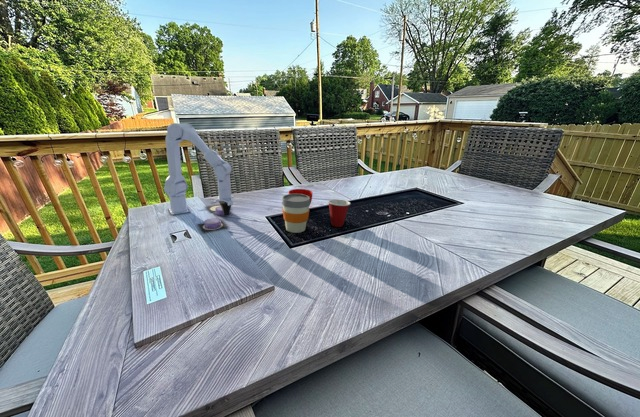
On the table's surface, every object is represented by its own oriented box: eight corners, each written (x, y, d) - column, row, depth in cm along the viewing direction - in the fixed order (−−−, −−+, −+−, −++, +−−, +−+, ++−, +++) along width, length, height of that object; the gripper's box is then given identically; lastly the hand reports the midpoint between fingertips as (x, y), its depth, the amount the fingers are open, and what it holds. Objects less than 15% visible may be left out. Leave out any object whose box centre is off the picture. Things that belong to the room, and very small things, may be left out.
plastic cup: (351, 223, 130) (353, 200, 126) (344, 230, 120) (346, 206, 116) (331, 218, 134) (332, 196, 130) (322, 226, 124) (324, 202, 120)
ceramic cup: (280, 213, 138) (280, 195, 134) (295, 204, 153) (295, 187, 149) (302, 217, 133) (303, 199, 130) (315, 207, 148) (316, 191, 145)
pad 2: (198, 224, 119) (198, 224, 119) (220, 220, 125) (220, 220, 125) (204, 232, 111) (204, 232, 111) (227, 227, 117) (227, 227, 117)
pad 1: (206, 207, 141) (206, 206, 141) (224, 204, 147) (224, 204, 147) (211, 212, 133) (211, 212, 133) (230, 209, 139) (230, 209, 139)
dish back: (213, 211, 135) (213, 207, 134) (227, 209, 139) (227, 205, 138) (218, 216, 129) (217, 211, 129) (232, 213, 133) (231, 209, 133)
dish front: (202, 225, 118) (202, 219, 118) (218, 222, 123) (217, 216, 122) (207, 230, 113) (206, 225, 113) (223, 227, 118) (223, 221, 117)
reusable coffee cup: (276, 228, 120) (276, 196, 115) (296, 221, 128) (297, 191, 123) (294, 237, 112) (295, 203, 107) (315, 229, 121) (316, 198, 116)
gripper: (238, 191, 122) (239, 218, 126) (228, 184, 133) (229, 209, 137) (222, 193, 118) (224, 221, 122) (213, 185, 129) (215, 211, 133)
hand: (226, 215), depth 129 cm, fingers closed
